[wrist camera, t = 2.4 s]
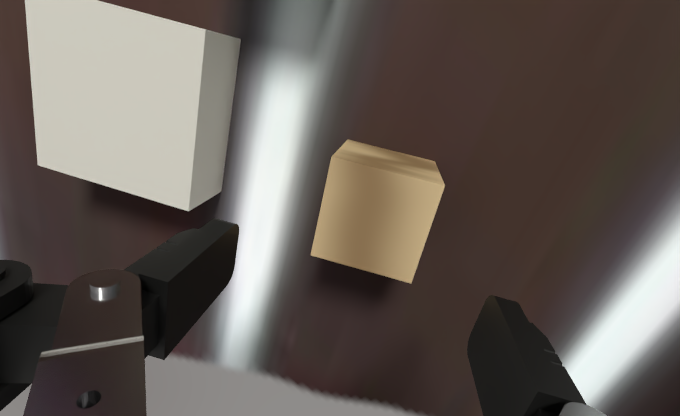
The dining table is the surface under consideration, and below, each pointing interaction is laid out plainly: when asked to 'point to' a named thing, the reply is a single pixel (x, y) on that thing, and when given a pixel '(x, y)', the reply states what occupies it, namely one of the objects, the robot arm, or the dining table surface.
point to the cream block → (131, 99)
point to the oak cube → (377, 210)
